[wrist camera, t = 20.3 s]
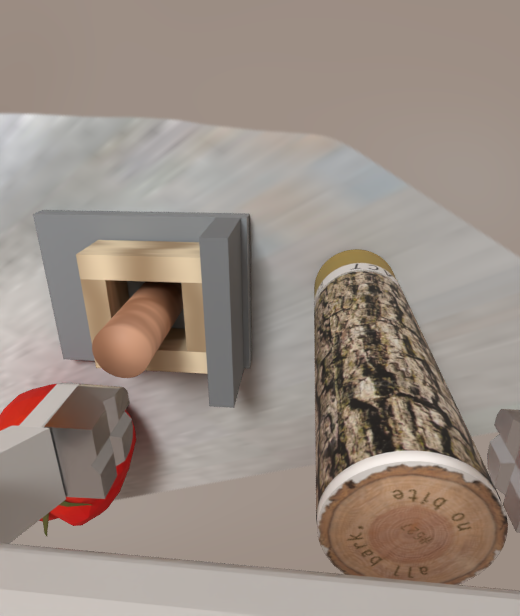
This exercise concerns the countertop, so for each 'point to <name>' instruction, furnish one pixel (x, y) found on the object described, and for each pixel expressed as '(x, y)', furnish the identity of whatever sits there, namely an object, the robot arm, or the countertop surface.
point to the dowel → (138, 329)
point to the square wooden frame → (156, 268)
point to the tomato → (72, 507)
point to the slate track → (144, 227)
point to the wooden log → (392, 439)
